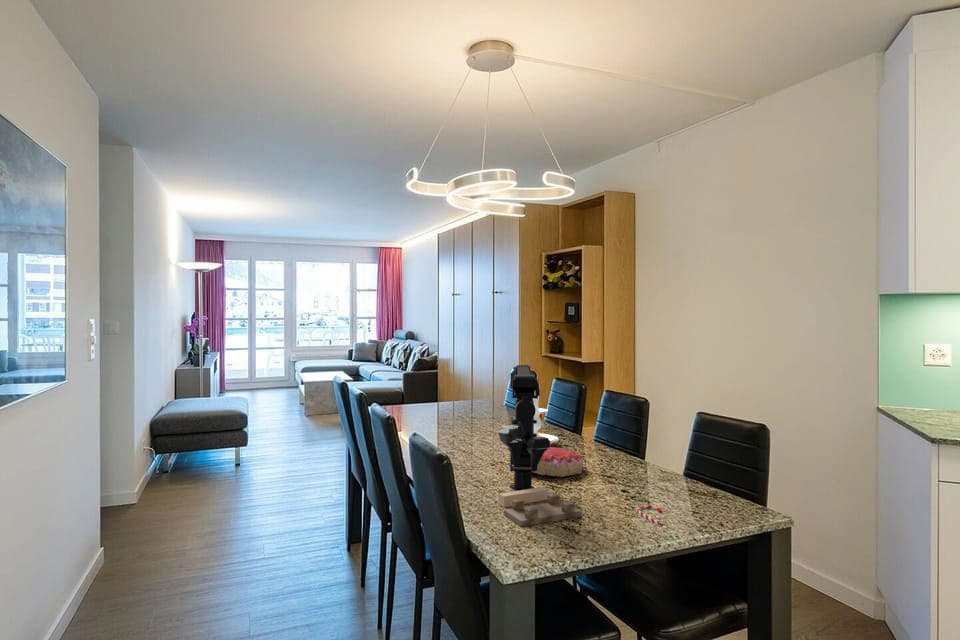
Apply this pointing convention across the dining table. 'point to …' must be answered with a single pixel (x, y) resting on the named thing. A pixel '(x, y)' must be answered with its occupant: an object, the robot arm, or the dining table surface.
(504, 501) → the clay strip
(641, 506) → the candy cane
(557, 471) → the cake
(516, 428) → the robot arm
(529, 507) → the tabbed beige plate
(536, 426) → the candlestick
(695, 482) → the dining table surface
